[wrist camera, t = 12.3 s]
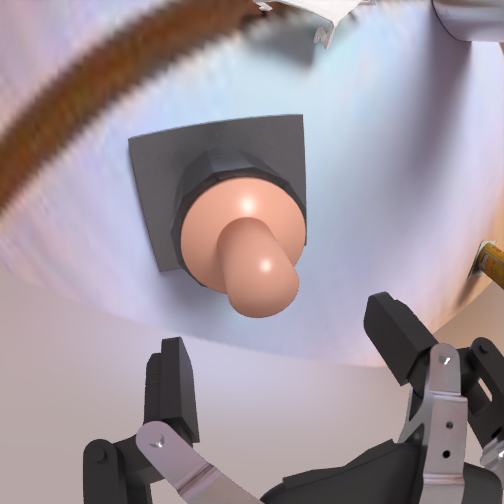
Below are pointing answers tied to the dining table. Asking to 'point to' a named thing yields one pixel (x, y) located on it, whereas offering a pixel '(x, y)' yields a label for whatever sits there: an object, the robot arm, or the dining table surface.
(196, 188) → the flanged pipe socket
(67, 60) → the dining table surface
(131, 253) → the dining table surface
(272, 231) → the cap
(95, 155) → the dining table surface
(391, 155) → the dining table surface
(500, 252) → the condiment
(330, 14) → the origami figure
